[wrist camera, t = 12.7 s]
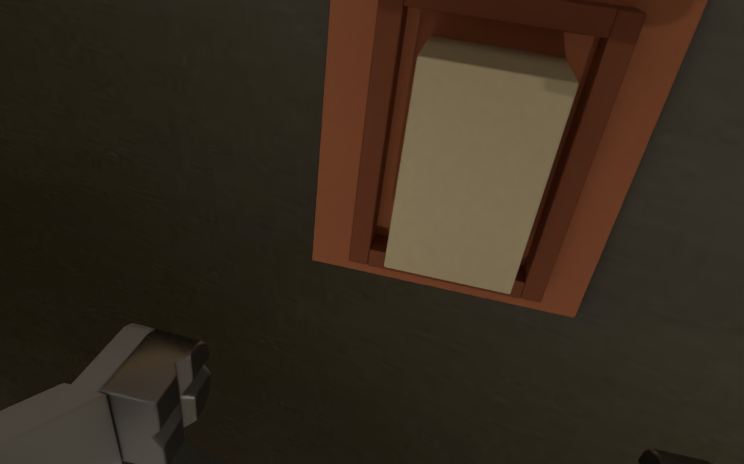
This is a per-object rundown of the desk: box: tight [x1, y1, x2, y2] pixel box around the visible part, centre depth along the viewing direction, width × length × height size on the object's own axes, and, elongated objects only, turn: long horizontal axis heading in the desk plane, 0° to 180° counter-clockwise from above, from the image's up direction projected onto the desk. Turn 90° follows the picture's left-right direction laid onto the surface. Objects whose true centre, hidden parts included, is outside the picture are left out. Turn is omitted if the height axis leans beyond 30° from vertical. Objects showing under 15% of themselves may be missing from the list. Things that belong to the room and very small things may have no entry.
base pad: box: [312, 0, 708, 317], centre depth 23 cm, size 16×14×2 cm
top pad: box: [384, 36, 579, 294], centre depth 22 cm, size 9×6×4 cm, turn 172°
